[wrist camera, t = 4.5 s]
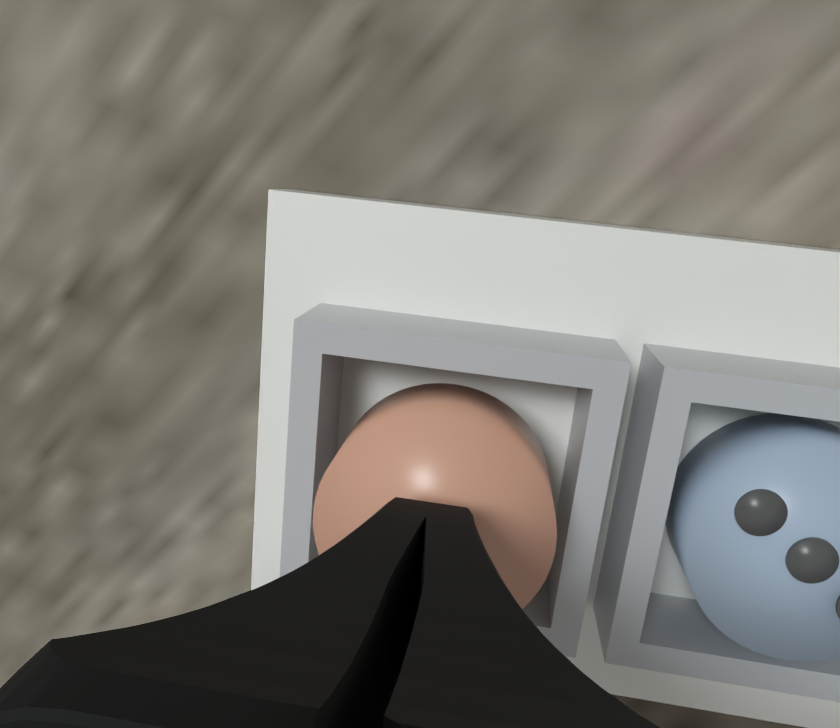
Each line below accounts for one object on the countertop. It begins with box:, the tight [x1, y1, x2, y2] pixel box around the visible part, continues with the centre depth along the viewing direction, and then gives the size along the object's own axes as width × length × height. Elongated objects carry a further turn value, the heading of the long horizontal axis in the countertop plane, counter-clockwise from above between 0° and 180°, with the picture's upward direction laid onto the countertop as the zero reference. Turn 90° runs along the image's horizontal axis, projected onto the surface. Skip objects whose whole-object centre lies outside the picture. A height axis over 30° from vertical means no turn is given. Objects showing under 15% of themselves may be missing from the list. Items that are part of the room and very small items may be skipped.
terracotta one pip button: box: [313, 383, 557, 609], centre depth 13 cm, size 4×4×2 cm
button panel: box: [251, 189, 840, 728], centre depth 15 cm, size 11×23×4 cm, turn 84°
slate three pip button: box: [665, 413, 840, 661], centre depth 14 cm, size 4×4×2 cm
